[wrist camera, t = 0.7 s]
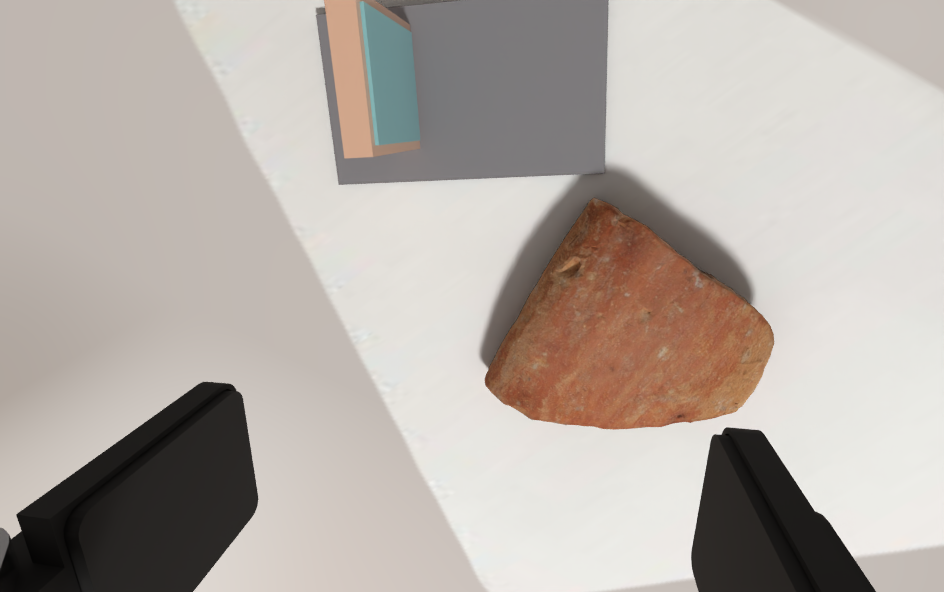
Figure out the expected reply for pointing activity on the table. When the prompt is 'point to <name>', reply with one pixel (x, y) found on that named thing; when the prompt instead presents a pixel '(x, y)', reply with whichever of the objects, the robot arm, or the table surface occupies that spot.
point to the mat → (495, 92)
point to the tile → (373, 78)
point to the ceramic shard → (628, 334)
